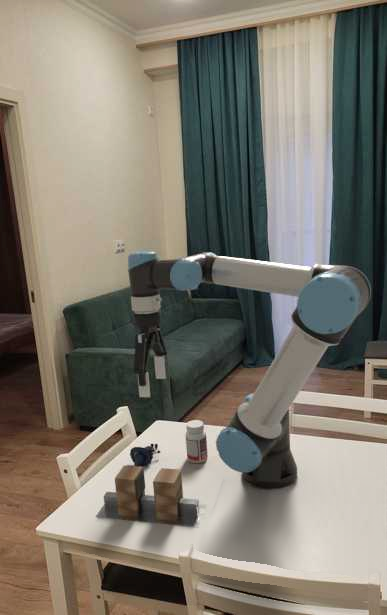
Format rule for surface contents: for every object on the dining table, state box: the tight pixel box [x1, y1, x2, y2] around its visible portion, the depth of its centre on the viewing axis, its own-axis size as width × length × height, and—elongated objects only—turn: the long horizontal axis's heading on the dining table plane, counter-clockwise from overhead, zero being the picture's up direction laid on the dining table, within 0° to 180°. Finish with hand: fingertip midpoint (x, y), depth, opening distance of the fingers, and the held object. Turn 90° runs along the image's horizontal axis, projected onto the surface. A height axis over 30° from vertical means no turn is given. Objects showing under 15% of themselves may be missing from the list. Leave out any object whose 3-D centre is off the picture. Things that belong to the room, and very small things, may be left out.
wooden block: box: [114, 465, 146, 517], centre depth 120 cm, size 5×6×10 cm
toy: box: [129, 443, 162, 467], centre depth 147 cm, size 8×7×15 cm
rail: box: [95, 491, 207, 529], centre depth 120 cm, size 26×9×4 cm, turn 76°
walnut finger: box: [152, 467, 184, 521], centre depth 118 cm, size 5×6×10 cm
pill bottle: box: [185, 419, 208, 464], centre depth 144 cm, size 6×6×11 cm
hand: (153, 387), depth 132 cm, fingers open, 13 cm apart
